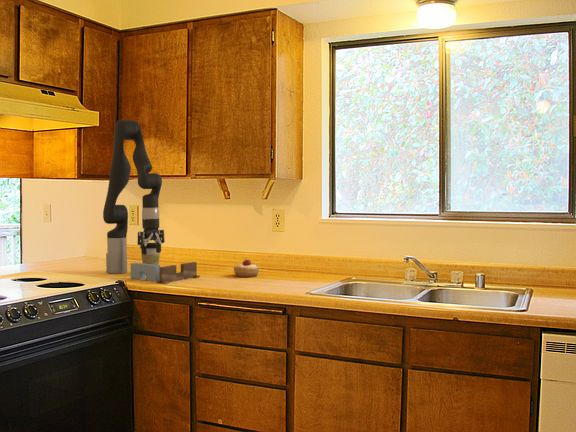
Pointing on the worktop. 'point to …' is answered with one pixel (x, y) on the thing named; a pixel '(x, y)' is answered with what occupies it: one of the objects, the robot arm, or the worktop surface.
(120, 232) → the robot arm
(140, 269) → the cross bar
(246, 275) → the pastry
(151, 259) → the coffee cup
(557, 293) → the worktop surface
